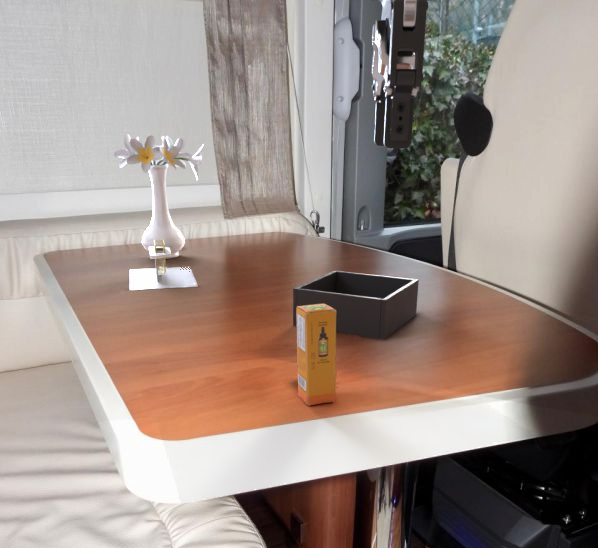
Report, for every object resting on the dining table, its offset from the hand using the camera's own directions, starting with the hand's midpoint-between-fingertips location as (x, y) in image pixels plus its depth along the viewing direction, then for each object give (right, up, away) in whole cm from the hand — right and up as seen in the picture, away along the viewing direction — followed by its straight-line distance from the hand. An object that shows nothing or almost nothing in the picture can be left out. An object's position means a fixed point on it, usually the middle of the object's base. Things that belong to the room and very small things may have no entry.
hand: (390, 146), depth 56 cm
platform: (-34, +1, +65) cm, 74 cm away
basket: (0, -12, +34) cm, 36 cm away
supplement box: (-6, -22, +11) cm, 26 cm away
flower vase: (-37, +9, +85) cm, 94 cm away
